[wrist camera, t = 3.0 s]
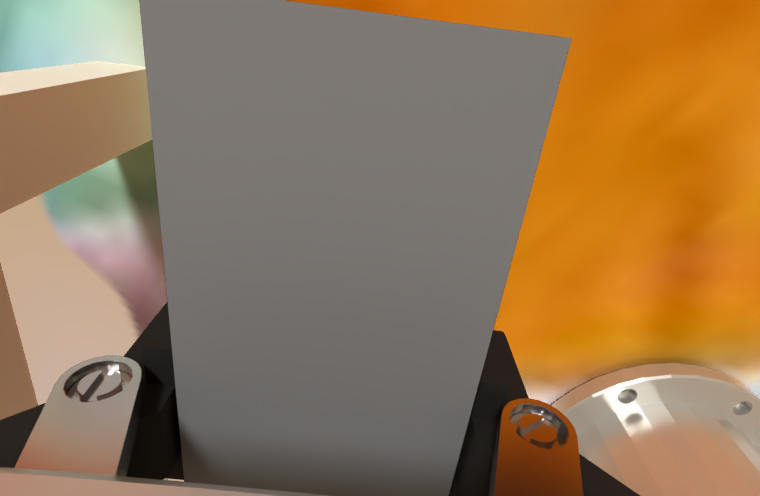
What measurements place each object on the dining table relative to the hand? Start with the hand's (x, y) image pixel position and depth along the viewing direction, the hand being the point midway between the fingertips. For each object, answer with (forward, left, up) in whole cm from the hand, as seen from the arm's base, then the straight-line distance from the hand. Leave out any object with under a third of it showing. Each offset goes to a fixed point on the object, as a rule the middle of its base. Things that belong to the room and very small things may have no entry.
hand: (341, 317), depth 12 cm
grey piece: (0, 0, -8) cm, 8 cm away
